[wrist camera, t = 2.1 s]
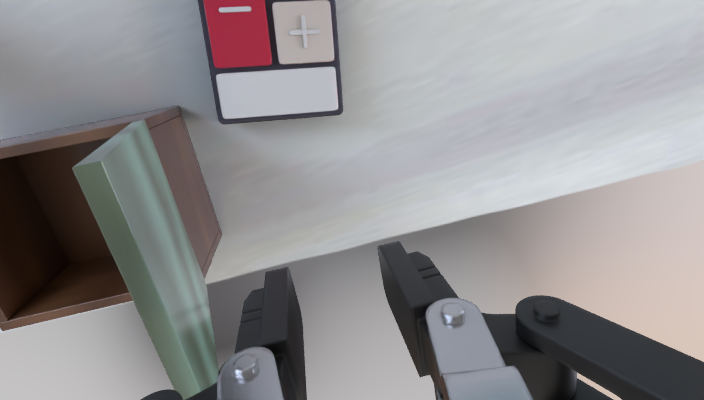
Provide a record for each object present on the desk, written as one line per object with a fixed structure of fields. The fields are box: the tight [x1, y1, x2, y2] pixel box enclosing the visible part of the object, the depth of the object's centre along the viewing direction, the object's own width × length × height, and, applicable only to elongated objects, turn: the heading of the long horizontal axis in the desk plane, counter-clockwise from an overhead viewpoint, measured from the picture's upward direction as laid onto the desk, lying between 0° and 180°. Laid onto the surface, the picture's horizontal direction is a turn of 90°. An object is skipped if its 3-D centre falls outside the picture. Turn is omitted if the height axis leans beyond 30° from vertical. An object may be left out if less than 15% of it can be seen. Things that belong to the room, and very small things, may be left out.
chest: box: [0, 106, 222, 331], centre depth 32 cm, size 16×14×10 cm
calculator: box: [198, 0, 343, 124], centre depth 32 cm, size 11×4×15 cm
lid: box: [72, 120, 219, 400], centre depth 21 cm, size 16×14×1 cm
